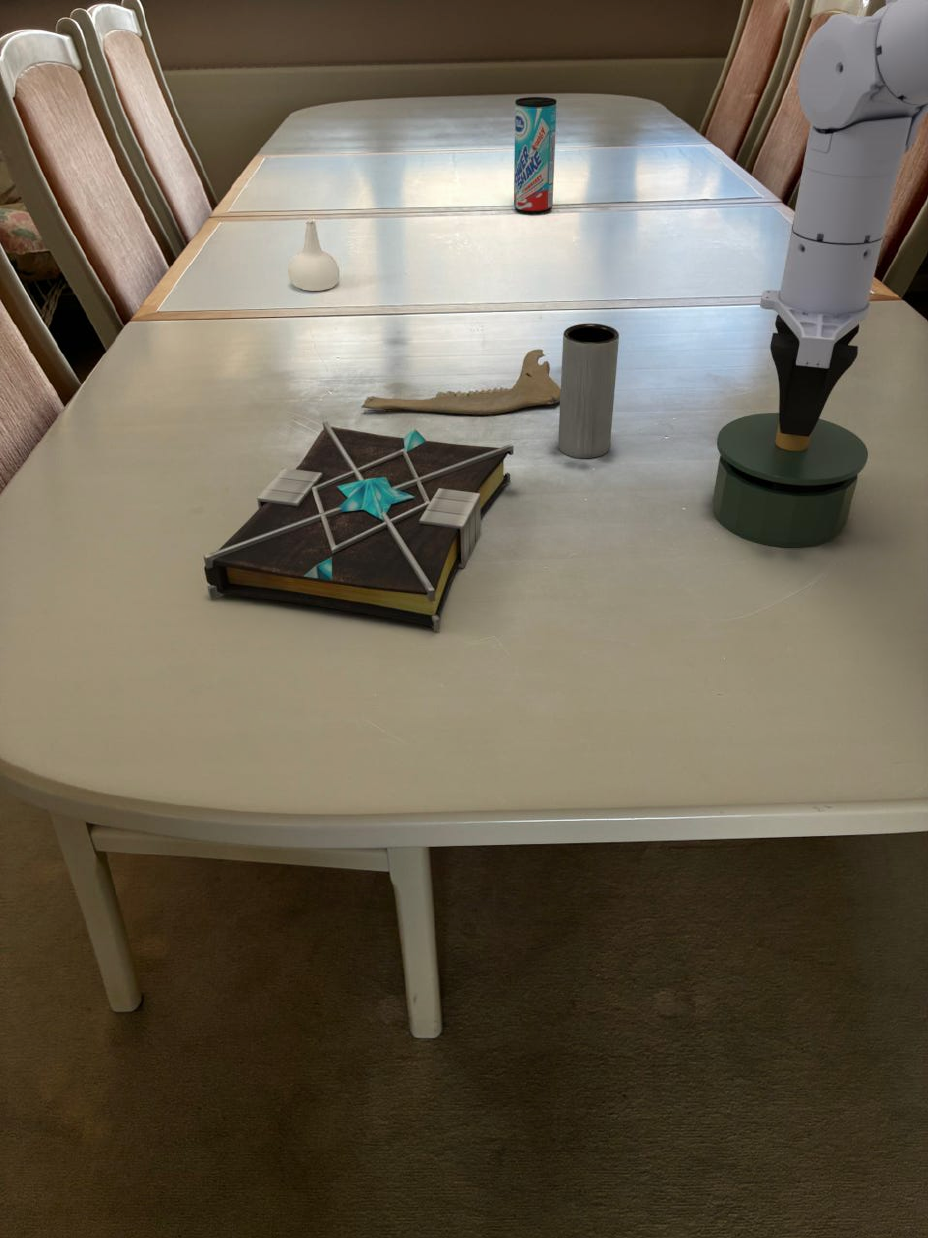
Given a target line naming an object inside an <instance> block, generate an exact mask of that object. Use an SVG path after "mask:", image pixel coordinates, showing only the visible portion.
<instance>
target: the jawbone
mask: <svg viewBox="0 0 928 1238" xmlns="http://www.w3.org/2000/svg"><path fill="white" fill-rule="evenodd" d="M542 357H546V354H544V350H543V349H539V348H538V349H533V350H530V351H528V352H527V353H526V354H525V356H524V357H523V360H522V365H521V371H520V373H519V374H520V375H519V377H518V378H517V381H516V383H515V384H514V385H513V386H512V388H507V387H505V388H504V387H503V386H500V388H499V389H498V388H497V387H494V388H492V389H491V388H488V389H487V390H485V389H481V390H480V391H479V390H478V389H477V390H475V391H473V390H469V391H468V392H466V391H463V392H461V391H460V390H458V391H456V392H454V391H451V390H448V391H446V392H444V391H438V392H437V393H436V396H435V397H431V398H427V399H401V398H385V397H384V398H383V397H380V396H379V397H378V396H374V395H372V396H367V397H366V399H365V400H364V403H363V404H362V405H361V406H360V407H361V408H362V409H370V410H382V411H385V412H393V411H398V410H408V411H412V412H413V411H414V412H425V413H426V412H428V413H444V414H458V415H477V416H489V415H498V414H505V413H511V412H513V411H517V410H520V409H524V408H529V407H535V406H542V405H554V404H556V403H558V402H560V393H561V387H560V386H559V385H558V383H556V382H555V380H553V379H552V378H551V376H550V371H551V367H550V362H549V361H548V360H545V361H543V362H542V364H539V360H540V359H541V358H542Z"/></svg>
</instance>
